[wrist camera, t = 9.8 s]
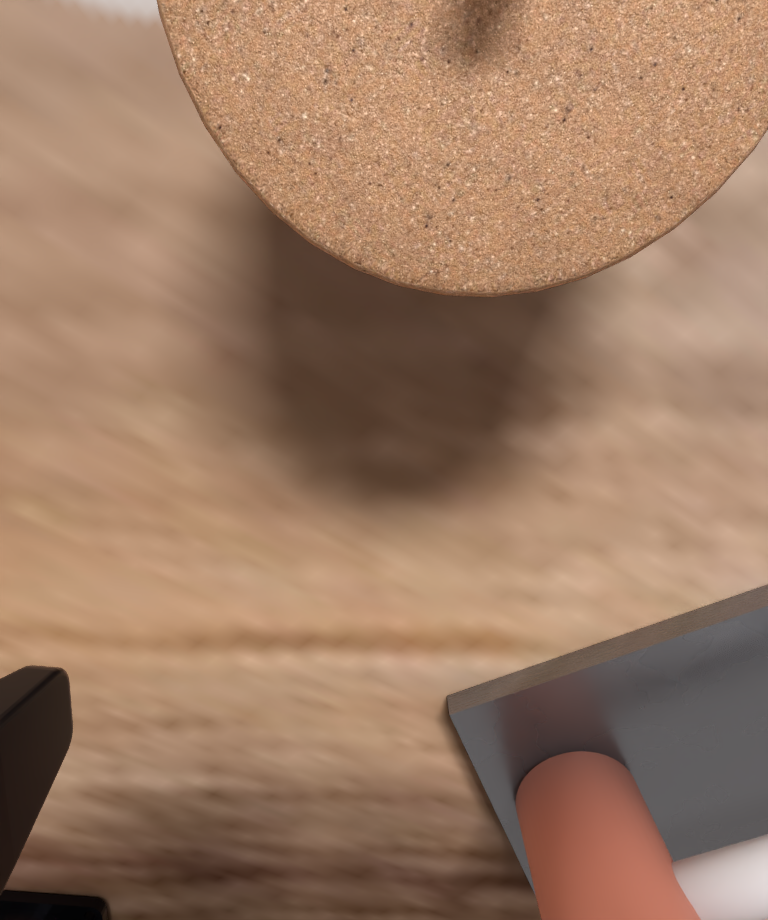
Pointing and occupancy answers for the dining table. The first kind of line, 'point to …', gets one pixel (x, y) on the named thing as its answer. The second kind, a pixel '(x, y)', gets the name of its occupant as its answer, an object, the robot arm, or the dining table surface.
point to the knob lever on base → (624, 852)
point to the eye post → (642, 723)
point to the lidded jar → (478, 125)
